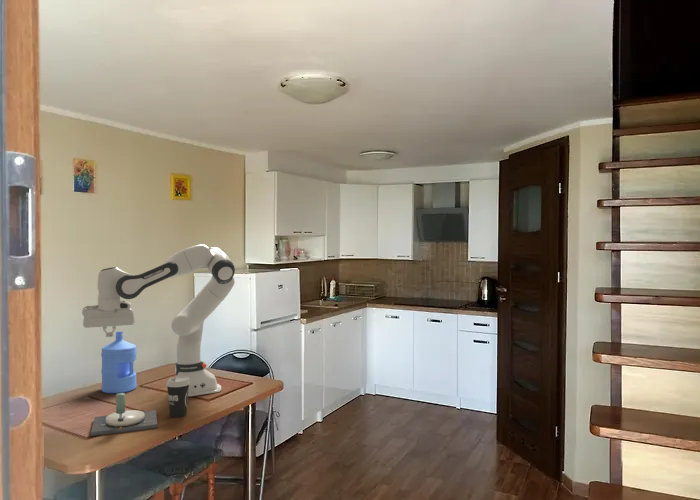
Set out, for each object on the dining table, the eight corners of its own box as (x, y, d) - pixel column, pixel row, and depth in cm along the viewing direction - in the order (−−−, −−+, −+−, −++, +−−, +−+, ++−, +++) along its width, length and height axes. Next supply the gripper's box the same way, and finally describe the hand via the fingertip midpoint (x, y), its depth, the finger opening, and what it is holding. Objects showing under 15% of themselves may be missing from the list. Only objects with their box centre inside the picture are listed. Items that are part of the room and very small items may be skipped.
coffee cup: (171, 411, 218) (171, 375, 218) (193, 411, 218) (193, 376, 218) (162, 418, 209) (162, 381, 209) (185, 419, 208) (185, 382, 208)
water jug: (94, 393, 244) (94, 334, 243) (113, 384, 259) (113, 329, 259) (125, 394, 242) (125, 335, 241) (142, 385, 257) (142, 329, 257)
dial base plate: (156, 413, 215) (155, 409, 215) (157, 428, 198) (157, 423, 198) (94, 420, 206) (94, 416, 206) (90, 436, 189) (90, 431, 189)
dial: (113, 414, 208) (113, 385, 208) (149, 413, 210) (149, 384, 210) (99, 426, 194) (99, 395, 194) (138, 425, 196) (138, 394, 196)
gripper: (81, 306, 216) (82, 339, 216) (134, 304, 224) (134, 335, 224) (82, 305, 222) (83, 337, 222) (134, 302, 230) (134, 333, 230)
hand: (109, 336), depth 223 cm, fingers closed
